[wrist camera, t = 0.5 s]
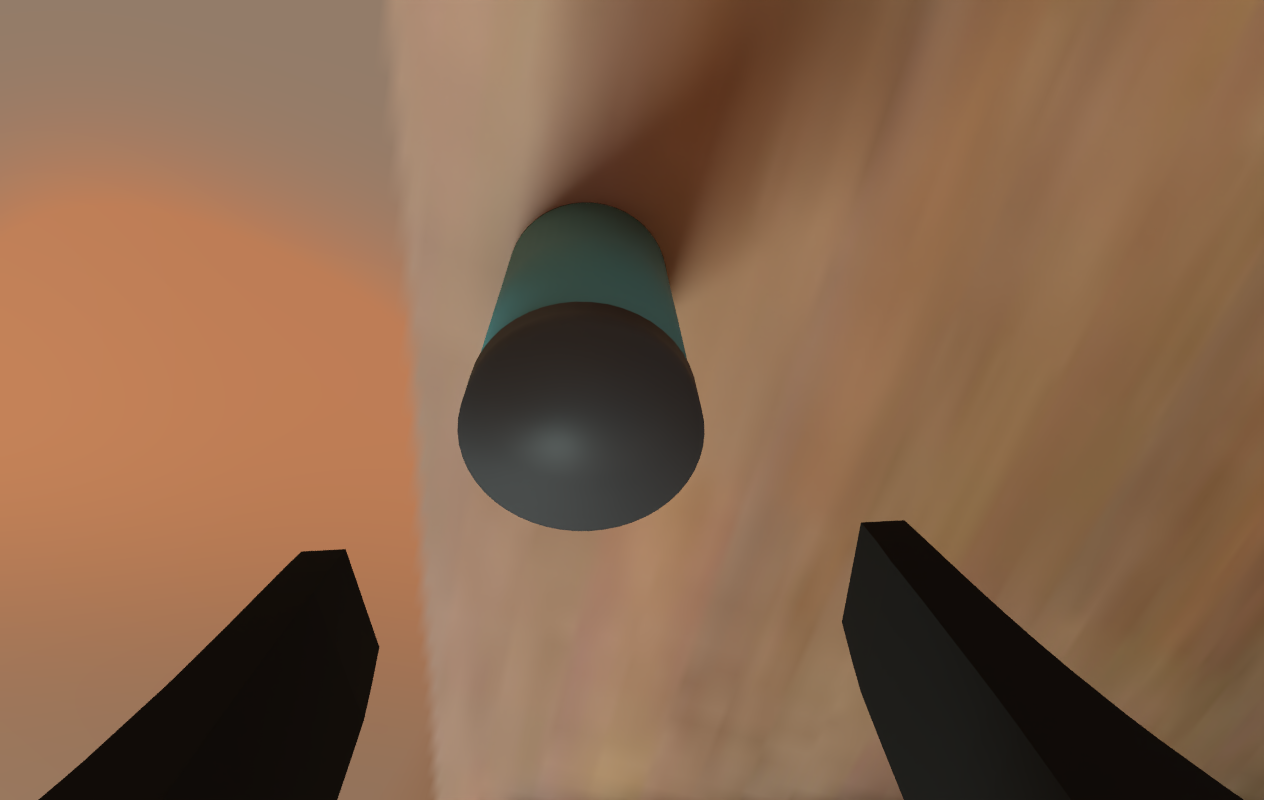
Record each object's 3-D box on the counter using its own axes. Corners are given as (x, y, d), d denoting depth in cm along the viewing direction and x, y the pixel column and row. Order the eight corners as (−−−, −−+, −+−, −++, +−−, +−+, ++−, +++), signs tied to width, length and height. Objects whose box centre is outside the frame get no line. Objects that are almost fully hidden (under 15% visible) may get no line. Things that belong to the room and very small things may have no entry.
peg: (564, 165, 16) (542, 277, 10) (700, 262, 17) (754, 412, 11) (476, 299, 18) (414, 464, 12) (607, 378, 19) (611, 562, 13)
